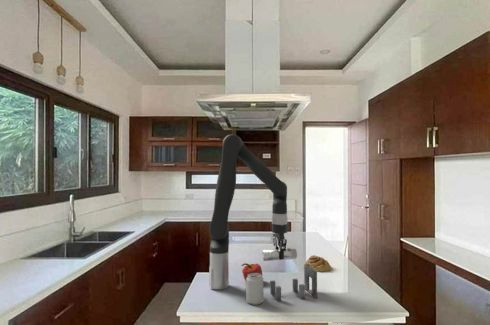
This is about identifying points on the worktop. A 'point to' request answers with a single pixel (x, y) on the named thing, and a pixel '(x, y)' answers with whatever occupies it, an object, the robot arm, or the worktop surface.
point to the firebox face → (313, 274)
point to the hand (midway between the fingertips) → (279, 257)
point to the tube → (274, 254)
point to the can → (254, 288)
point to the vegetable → (251, 269)
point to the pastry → (318, 264)
